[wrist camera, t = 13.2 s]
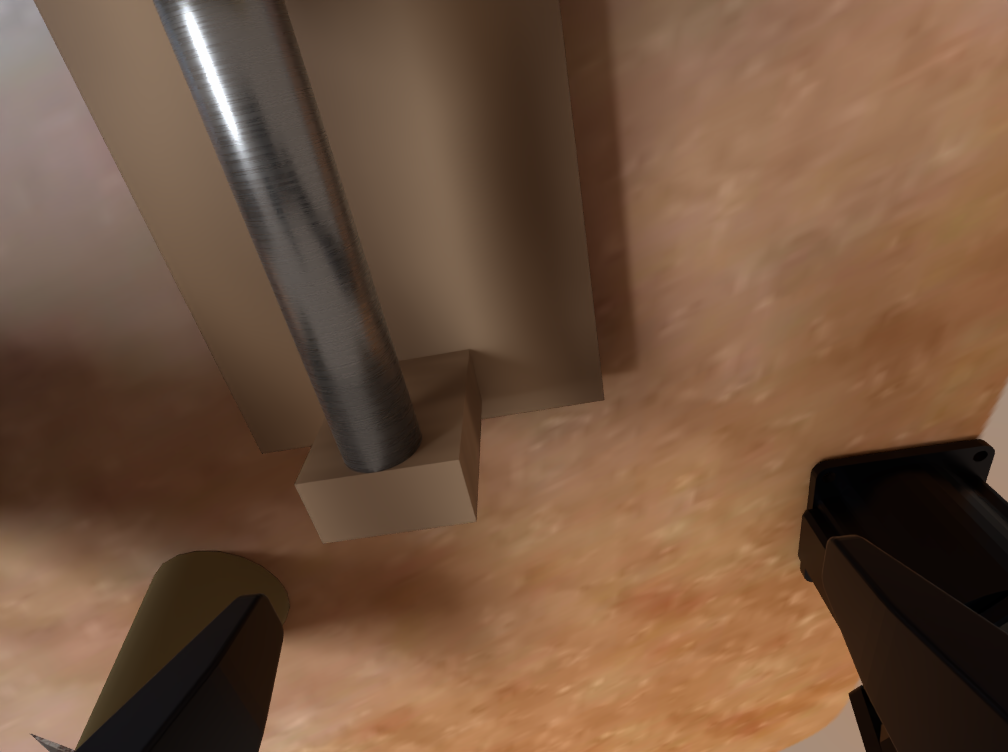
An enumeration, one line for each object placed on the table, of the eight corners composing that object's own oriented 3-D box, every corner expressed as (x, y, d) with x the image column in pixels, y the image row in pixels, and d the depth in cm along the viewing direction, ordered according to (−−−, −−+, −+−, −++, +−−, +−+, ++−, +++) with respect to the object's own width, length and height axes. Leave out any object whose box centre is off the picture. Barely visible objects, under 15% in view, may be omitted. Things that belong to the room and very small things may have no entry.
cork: (291, 561, 25) (164, 881, 15) (288, 646, 28) (180, 958, 18) (145, 541, 24) (-81, 864, 15) (159, 630, 27) (-23, 946, 18)
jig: (476, -660, 10) (440, -1781, 4) (597, 377, 20) (639, 520, 14) (-146, -462, 11) (-957, -1091, 5) (276, 428, 21) (188, 581, 15)
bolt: (293, -646, 9) (-47, -1771, 3) (506, 371, 18) (509, 515, 13) (-51, -533, 10) (-838, -1356, 4) (327, 400, 19) (255, 551, 13)
